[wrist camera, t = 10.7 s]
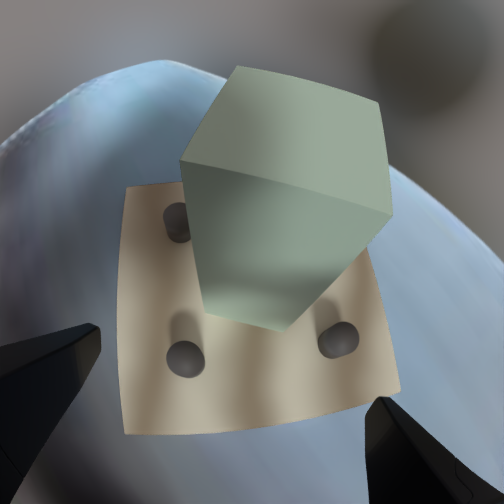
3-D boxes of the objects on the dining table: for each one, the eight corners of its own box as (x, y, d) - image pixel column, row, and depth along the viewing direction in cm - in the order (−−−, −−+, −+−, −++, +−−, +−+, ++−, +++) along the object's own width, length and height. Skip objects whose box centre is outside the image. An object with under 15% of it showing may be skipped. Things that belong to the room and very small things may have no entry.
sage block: (283, 332, 18) (393, 215, 6) (204, 312, 18) (179, 159, 6) (296, 261, 20) (378, 102, 8) (225, 243, 20) (237, 65, 8)
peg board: (129, 432, 15) (113, 438, 12) (129, 194, 22) (120, 170, 20) (393, 392, 17) (417, 390, 15) (337, 183, 25) (349, 161, 22)
